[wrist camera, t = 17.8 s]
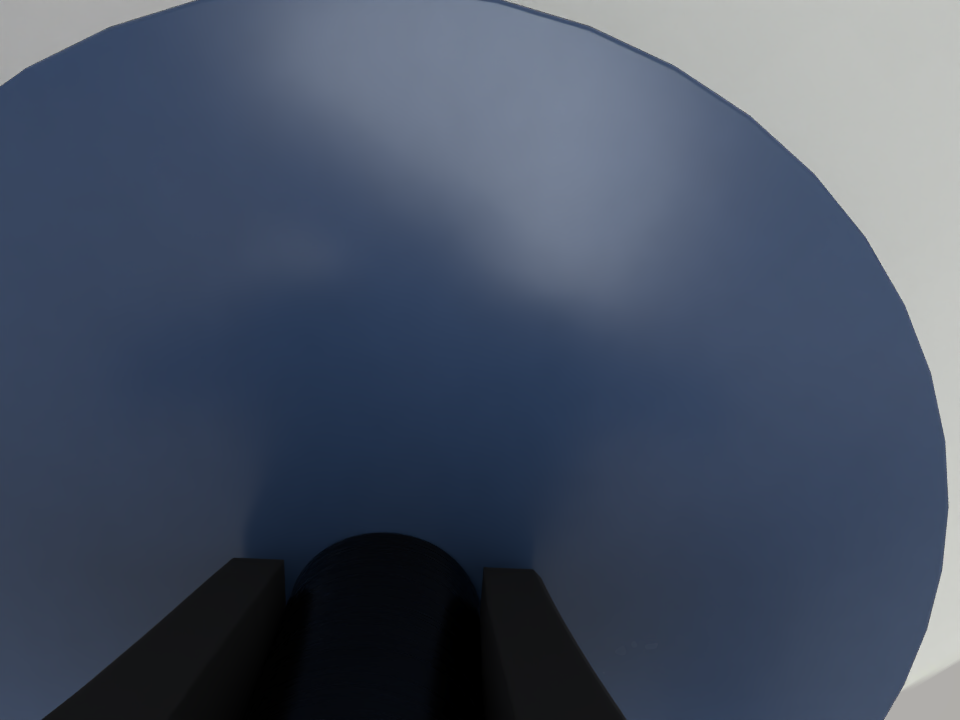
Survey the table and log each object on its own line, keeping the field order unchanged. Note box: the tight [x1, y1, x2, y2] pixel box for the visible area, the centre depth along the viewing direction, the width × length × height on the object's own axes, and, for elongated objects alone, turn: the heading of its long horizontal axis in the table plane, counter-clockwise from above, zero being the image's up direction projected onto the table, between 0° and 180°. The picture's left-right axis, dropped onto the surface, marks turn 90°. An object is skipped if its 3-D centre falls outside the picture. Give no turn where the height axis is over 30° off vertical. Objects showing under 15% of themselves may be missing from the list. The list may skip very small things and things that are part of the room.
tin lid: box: [0, 0, 948, 720], centre depth 7 cm, size 14×14×5 cm
